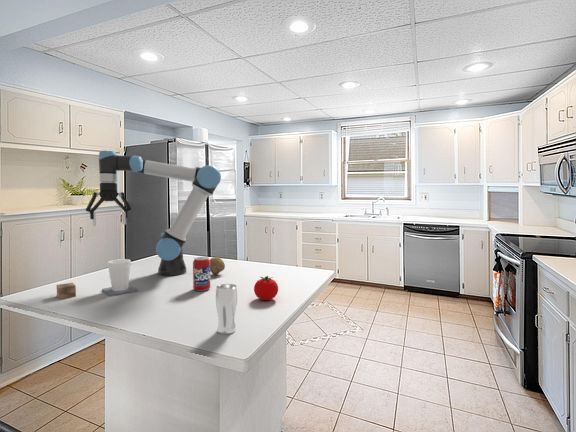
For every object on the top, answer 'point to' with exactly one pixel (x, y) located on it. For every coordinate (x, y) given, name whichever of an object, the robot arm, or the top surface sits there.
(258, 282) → the tomato
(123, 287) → the foam cup
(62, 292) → the walnut block
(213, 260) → the natural sponge
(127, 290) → the mat
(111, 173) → the robot arm
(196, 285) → the soda can
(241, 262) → the top surface
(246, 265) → the top surface
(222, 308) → the beer glass
